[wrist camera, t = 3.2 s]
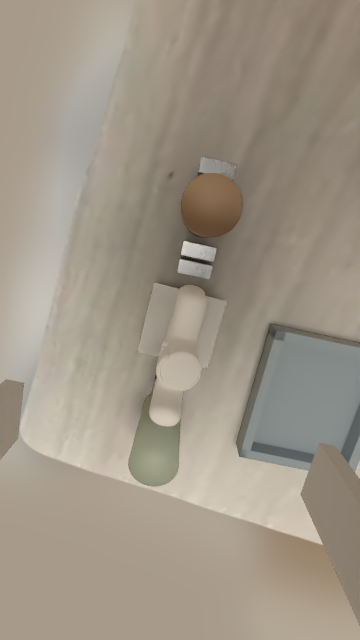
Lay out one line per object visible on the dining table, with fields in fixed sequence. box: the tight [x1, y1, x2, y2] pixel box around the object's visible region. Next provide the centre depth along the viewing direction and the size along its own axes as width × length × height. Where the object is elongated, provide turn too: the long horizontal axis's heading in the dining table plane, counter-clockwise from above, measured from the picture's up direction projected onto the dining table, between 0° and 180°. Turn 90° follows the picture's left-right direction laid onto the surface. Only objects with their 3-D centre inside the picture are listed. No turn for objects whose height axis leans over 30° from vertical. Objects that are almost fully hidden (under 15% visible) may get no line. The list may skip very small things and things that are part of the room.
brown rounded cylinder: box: [181, 173, 243, 237], centre depth 29 cm, size 4×4×10 cm
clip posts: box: [149, 157, 236, 404], centre depth 34 cm, size 30×3×5 cm, turn 168°
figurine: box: [138, 282, 227, 427], centre depth 29 cm, size 7×9×15 cm
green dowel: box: [128, 394, 181, 486], centre depth 34 cm, size 4×4×10 cm
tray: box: [236, 324, 360, 472], centre depth 37 cm, size 15×13×2 cm
